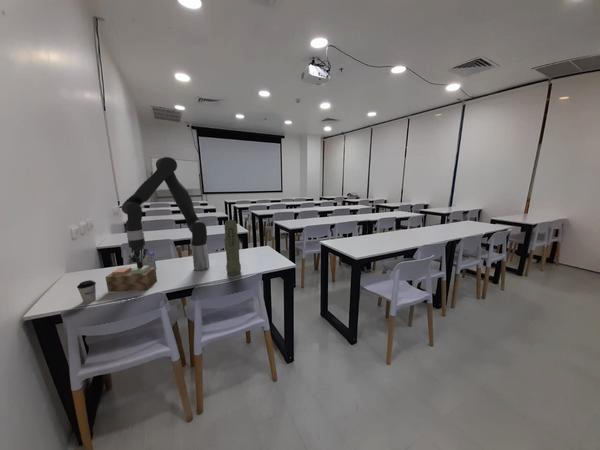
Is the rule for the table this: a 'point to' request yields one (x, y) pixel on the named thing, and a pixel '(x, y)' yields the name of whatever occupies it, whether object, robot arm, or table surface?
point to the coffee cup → (87, 291)
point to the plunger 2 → (140, 270)
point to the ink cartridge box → (149, 259)
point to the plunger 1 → (121, 271)
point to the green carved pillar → (232, 248)
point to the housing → (131, 281)
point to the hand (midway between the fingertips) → (140, 267)
